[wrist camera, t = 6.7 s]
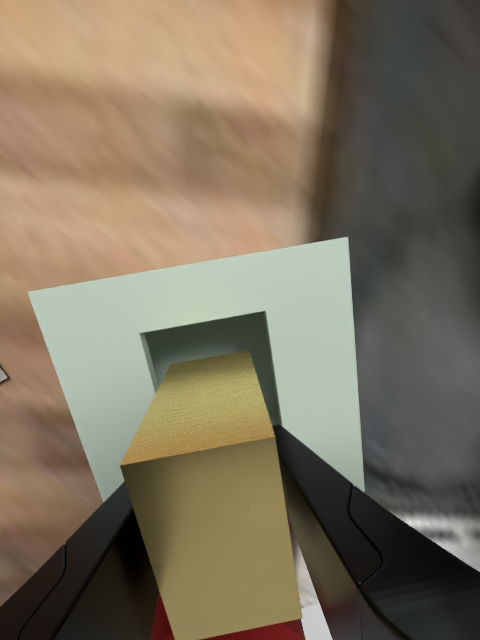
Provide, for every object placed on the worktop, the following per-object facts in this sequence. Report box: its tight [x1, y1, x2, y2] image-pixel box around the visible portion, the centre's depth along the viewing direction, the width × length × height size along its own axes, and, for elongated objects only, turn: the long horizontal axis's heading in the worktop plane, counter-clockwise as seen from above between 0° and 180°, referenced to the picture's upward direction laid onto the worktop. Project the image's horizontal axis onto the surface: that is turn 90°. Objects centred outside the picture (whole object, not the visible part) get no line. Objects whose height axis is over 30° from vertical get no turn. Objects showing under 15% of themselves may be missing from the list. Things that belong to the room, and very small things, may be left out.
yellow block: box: [120, 350, 302, 640], centre depth 8 cm, size 3×5×5 cm, turn 9°
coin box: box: [28, 237, 365, 503], centre depth 15 cm, size 12×12×7 cm
